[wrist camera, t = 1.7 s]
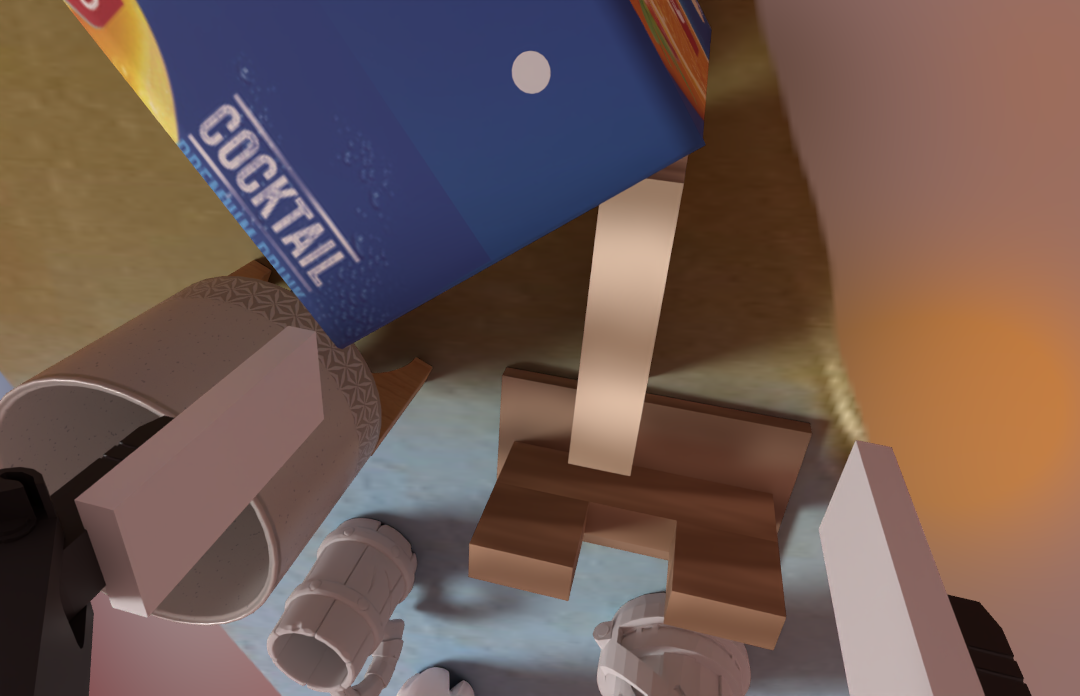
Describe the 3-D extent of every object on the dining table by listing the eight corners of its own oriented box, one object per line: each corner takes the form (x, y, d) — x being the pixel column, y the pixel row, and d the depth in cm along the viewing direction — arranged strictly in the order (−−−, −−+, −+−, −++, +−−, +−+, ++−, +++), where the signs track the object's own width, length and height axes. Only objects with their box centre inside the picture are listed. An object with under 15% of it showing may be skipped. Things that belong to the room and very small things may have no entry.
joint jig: (506, 367, 41) (451, 469, 32) (809, 423, 38) (837, 552, 29) (498, 511, 47) (450, 629, 38) (759, 569, 44) (770, 711, 35)
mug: (399, 510, 49) (316, 649, 39) (453, 621, 54) (391, 772, 44) (314, 517, 52) (215, 649, 41) (373, 623, 56) (297, 765, 46)
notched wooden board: (629, 126, 32) (603, 172, 25) (691, 134, 32) (683, 183, 24) (596, 369, 39) (567, 463, 32) (646, 378, 39) (630, 476, 31)
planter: (227, 342, 45) (-20, 526, 30) (278, 182, 38) (-7, 314, 23) (392, 439, 46) (234, 666, 31) (470, 299, 39) (316, 501, 24)
